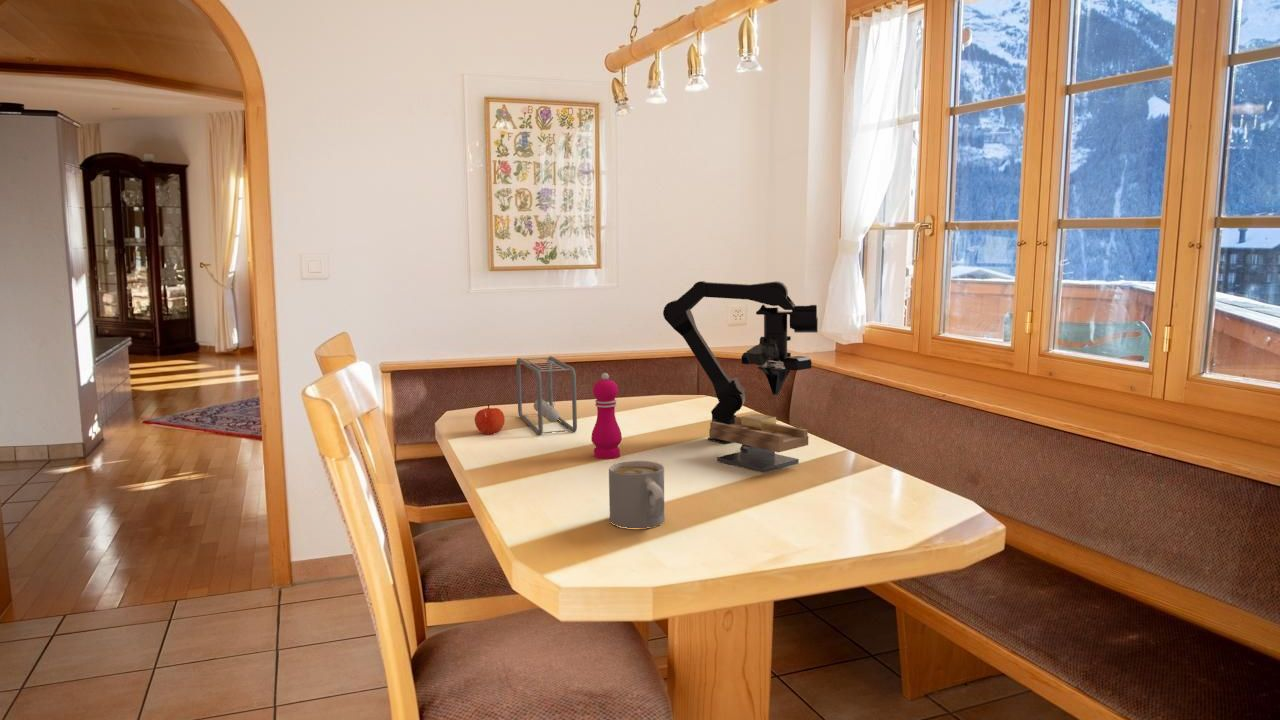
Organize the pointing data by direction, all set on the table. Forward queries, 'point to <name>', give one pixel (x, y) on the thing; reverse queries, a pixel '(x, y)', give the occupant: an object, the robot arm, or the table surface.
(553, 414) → the newton's cradle
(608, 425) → the pepper mill
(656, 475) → the coffee mug
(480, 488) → the table surface
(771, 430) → the tan wooden block
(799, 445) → the wooden tray
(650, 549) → the table surface
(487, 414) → the apple
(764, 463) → the fulcrum stand
